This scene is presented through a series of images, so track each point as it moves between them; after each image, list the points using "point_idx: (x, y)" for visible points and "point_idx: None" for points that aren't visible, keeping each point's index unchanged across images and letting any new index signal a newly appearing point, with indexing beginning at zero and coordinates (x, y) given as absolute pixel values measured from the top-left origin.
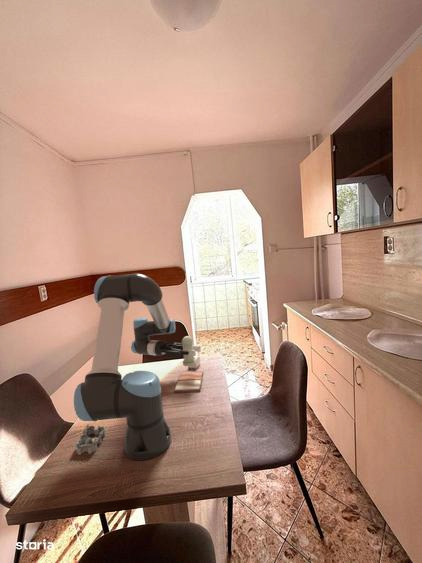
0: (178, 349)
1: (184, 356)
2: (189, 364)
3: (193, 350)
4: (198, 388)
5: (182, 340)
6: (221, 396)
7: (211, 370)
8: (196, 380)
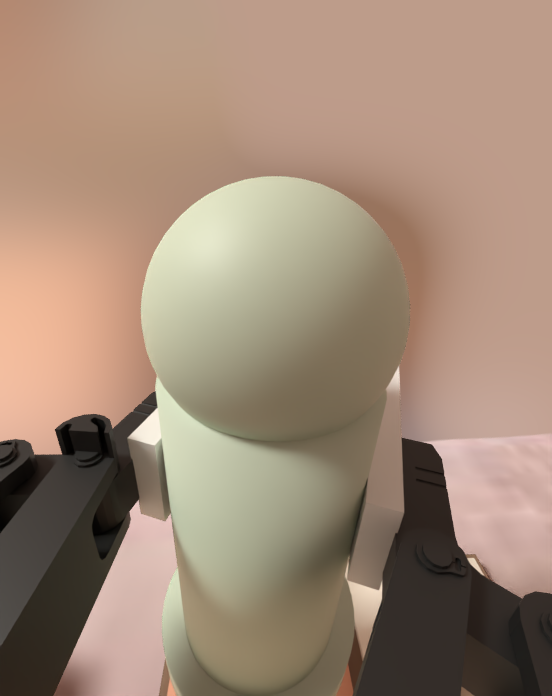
0: (386, 667)
1: (330, 603)
2: (346, 585)
3: (398, 370)
4: (477, 564)
5: (365, 316)
6: (467, 453)
7: (144, 516)
8: (359, 600)
